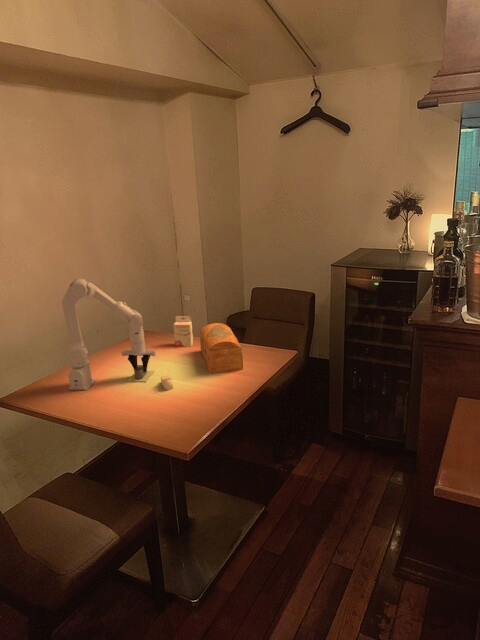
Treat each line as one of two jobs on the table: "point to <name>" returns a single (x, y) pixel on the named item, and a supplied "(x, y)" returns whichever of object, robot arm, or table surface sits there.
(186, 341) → the ink cartridge box
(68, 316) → the robot arm
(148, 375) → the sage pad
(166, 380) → the ivory plug
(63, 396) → the table surface
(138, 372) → the tan-capped grey bottle
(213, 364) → the wooden box
